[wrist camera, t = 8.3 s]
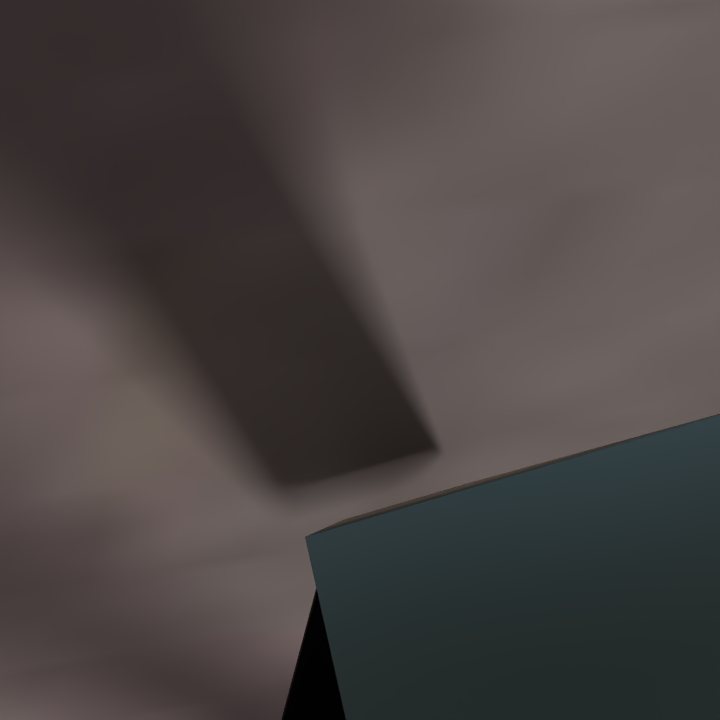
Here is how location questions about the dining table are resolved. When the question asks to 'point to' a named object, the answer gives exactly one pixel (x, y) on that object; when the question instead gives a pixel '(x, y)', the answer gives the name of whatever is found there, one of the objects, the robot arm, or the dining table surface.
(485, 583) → the birch block
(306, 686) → the robot arm
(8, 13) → the dining table surface
